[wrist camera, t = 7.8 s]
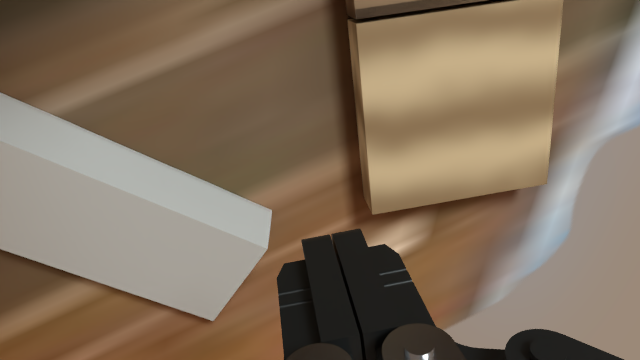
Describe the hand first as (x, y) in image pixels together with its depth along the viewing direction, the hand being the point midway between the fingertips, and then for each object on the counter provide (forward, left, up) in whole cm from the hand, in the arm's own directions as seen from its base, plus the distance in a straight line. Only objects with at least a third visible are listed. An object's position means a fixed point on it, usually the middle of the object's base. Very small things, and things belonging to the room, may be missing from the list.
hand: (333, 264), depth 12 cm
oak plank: (+4, +12, -24) cm, 28 cm away
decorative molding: (+5, -19, -25) cm, 32 cm away
